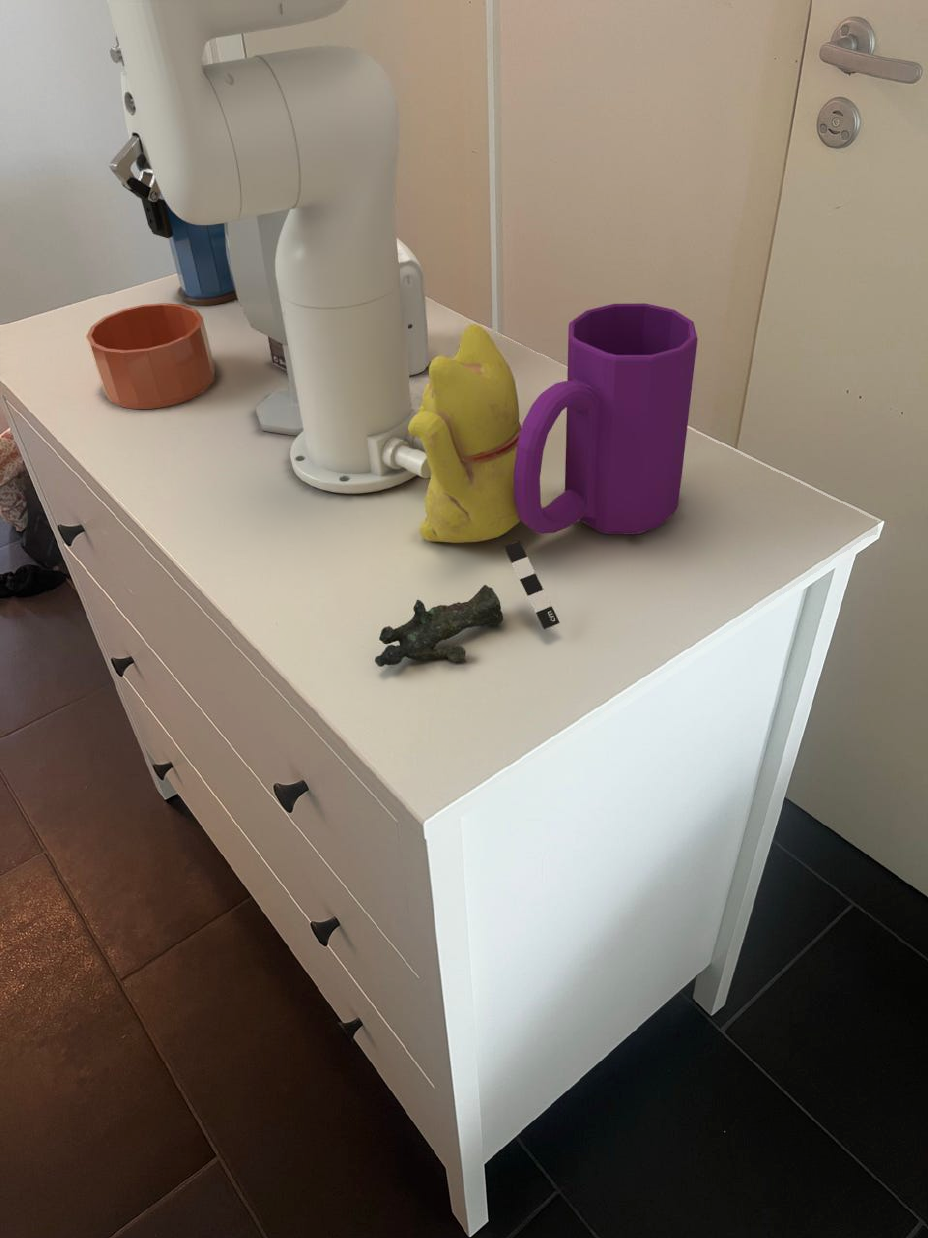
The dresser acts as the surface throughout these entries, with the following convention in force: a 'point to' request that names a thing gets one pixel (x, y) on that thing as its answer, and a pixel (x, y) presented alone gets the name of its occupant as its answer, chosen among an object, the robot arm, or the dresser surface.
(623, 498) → the mug
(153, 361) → the orange bowl
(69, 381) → the dresser surface
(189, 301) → the coaster
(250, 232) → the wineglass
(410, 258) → the photo printer
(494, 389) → the figurine
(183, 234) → the blue cup
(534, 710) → the dresser surface
